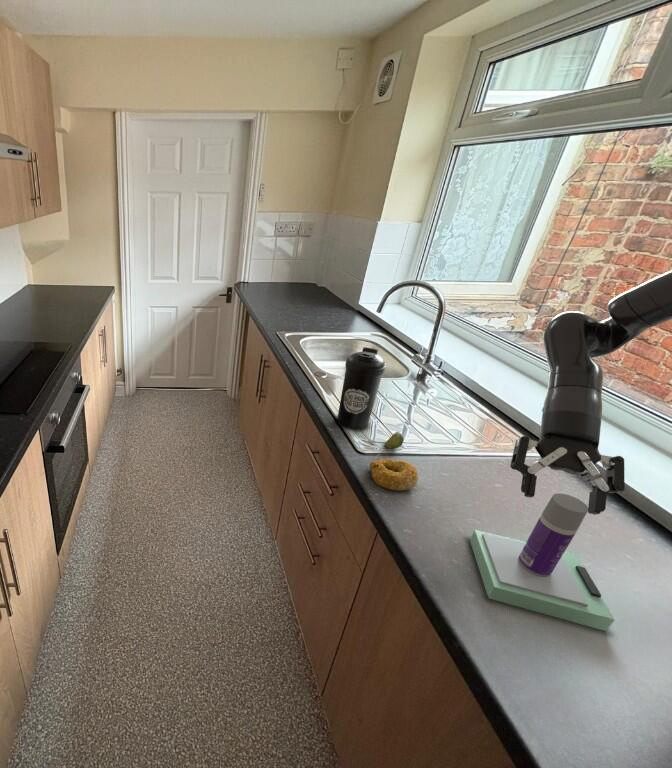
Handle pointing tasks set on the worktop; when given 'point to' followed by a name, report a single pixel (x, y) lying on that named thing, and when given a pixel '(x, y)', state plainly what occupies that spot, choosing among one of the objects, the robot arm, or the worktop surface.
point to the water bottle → (360, 388)
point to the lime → (395, 441)
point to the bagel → (394, 474)
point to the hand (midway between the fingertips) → (560, 505)
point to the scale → (539, 583)
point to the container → (552, 534)
